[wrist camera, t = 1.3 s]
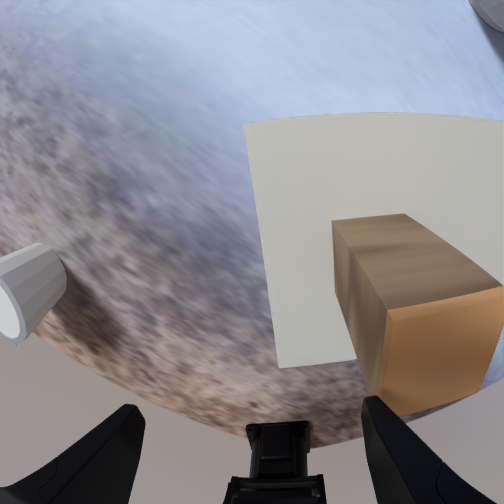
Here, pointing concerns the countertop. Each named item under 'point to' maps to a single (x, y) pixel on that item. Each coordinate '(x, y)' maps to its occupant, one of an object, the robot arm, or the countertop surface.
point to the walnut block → (414, 311)
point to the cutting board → (365, 205)
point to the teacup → (490, 12)
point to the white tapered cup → (28, 289)
